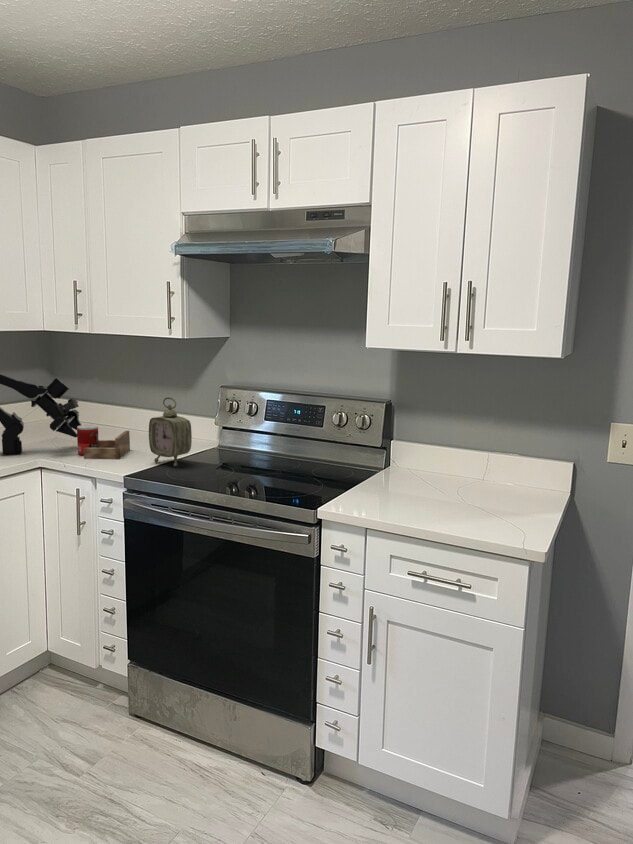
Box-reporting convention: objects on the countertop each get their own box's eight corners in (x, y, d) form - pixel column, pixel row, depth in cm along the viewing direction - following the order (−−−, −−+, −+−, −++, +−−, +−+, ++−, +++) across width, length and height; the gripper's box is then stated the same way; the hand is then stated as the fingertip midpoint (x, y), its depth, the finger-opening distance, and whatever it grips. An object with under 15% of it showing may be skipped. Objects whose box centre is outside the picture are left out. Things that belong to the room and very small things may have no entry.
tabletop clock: (149, 462, 241) (147, 396, 236) (167, 458, 248) (166, 394, 244) (175, 468, 232) (174, 400, 228) (194, 464, 240) (193, 397, 235)
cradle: (84, 458, 245) (83, 438, 244) (96, 449, 261) (95, 430, 260) (119, 458, 246) (119, 438, 244) (129, 449, 262) (129, 430, 260)
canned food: (93, 456, 249) (92, 428, 247) (73, 455, 250) (73, 427, 248) (102, 452, 256) (101, 425, 254) (83, 451, 257) (82, 424, 255)
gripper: (56, 396, 244) (87, 424, 246) (72, 390, 262) (101, 416, 264) (36, 416, 245) (67, 444, 247) (54, 409, 263) (82, 435, 265)
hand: (80, 434), depth 256 cm, fingers open, 9 cm apart
